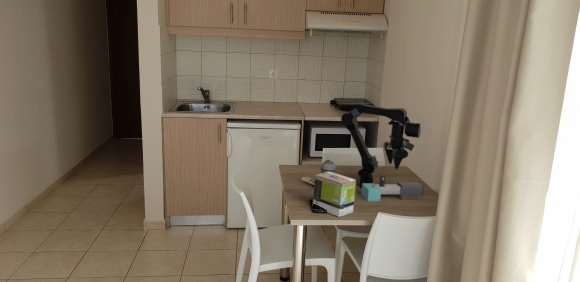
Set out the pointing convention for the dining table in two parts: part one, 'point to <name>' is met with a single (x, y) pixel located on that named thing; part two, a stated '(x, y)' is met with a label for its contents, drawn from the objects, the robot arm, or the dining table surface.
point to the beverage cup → (328, 166)
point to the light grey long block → (387, 187)
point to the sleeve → (411, 190)
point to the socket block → (370, 192)
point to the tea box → (334, 193)
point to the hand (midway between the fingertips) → (393, 166)
